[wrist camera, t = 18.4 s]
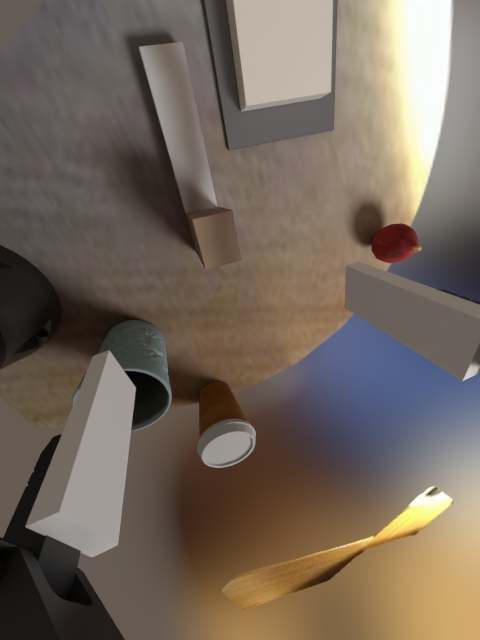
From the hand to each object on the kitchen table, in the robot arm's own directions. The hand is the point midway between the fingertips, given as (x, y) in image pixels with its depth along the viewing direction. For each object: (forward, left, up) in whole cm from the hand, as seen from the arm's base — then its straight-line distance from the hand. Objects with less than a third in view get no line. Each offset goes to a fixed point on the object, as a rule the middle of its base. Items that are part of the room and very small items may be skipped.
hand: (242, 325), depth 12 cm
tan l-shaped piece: (+2, +9, -23) cm, 24 cm away
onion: (+30, -6, -23) cm, 38 cm away
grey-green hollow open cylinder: (-13, -12, -23) cm, 29 cm away
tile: (+14, +13, -21) cm, 28 cm away
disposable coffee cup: (-4, -28, -23) cm, 37 cm away
